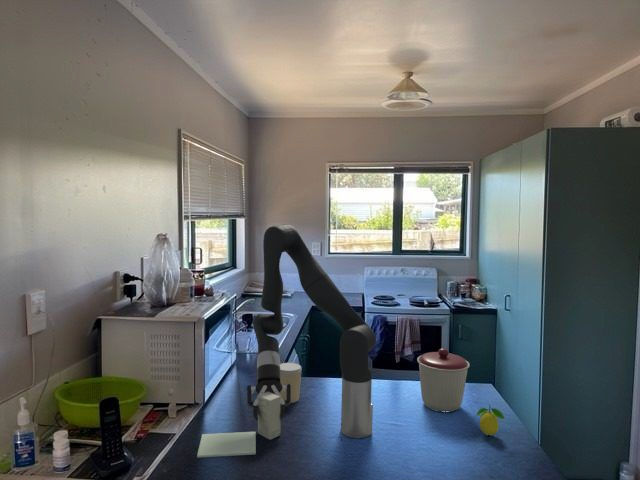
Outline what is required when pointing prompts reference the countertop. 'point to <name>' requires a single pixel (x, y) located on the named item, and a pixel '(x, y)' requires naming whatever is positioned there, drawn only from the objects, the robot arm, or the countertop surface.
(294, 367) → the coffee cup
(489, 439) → the countertop surface
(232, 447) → the mat
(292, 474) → the countertop surface
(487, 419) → the lemon
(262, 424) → the skincare box
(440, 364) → the canister
